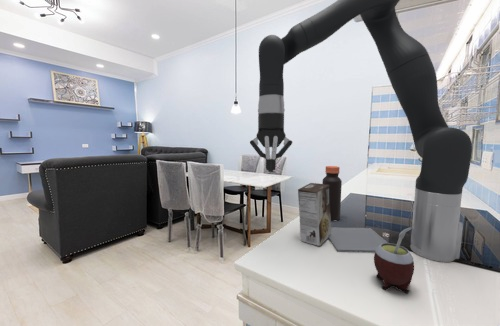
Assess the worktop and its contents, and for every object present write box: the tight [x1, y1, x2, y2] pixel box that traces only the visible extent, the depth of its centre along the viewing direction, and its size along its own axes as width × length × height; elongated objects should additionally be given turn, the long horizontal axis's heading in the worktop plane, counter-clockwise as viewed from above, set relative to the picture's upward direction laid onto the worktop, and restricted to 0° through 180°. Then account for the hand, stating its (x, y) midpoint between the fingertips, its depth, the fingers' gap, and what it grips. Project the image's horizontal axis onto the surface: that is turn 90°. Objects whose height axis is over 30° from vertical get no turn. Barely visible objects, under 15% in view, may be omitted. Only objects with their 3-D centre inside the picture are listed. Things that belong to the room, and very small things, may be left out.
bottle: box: [321, 165, 343, 221], centre depth 83 cm, size 7×7×20 cm
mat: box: [327, 226, 389, 254], centre depth 67 cm, size 16×15×1 cm
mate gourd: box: [373, 226, 415, 295], centre depth 45 cm, size 8×8×15 cm
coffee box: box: [297, 182, 332, 247], centre depth 66 cm, size 9×6×16 cm
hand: (270, 171), depth 66 cm, fingers closed
